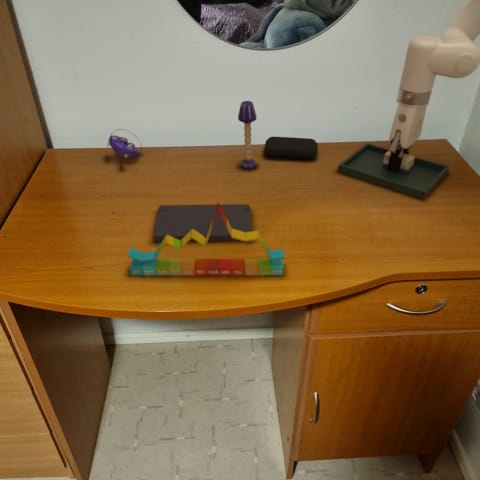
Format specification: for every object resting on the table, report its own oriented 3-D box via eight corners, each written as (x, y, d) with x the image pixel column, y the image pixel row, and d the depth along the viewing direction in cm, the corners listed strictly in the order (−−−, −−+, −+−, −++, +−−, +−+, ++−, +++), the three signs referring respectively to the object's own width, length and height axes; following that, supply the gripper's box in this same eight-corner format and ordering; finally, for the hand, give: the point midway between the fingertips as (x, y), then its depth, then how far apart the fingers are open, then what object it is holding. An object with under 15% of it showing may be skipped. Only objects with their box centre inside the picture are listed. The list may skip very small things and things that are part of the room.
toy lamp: (243, 171, 128) (243, 107, 116) (235, 164, 130) (234, 101, 119) (259, 167, 129) (261, 103, 118) (250, 160, 132) (251, 97, 120)
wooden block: (412, 168, 127) (415, 156, 125) (406, 174, 125) (410, 161, 123) (387, 161, 130) (390, 149, 128) (381, 166, 128) (384, 154, 126)
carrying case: (317, 145, 139) (266, 142, 140) (318, 135, 137) (266, 132, 138) (316, 162, 131) (262, 159, 133) (317, 152, 129) (263, 148, 130)
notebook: (154, 242, 105) (251, 240, 105) (153, 236, 104) (251, 234, 104) (159, 210, 114) (249, 209, 114) (158, 205, 113) (249, 203, 113)
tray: (447, 173, 127) (449, 166, 125) (423, 200, 117) (425, 192, 116) (365, 149, 137) (367, 142, 136) (337, 172, 127) (338, 164, 126)
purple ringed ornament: (152, 143, 131) (126, 149, 124) (145, 169, 136) (120, 176, 129) (125, 124, 133) (99, 129, 126) (119, 150, 138) (93, 156, 131)
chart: (131, 276, 96) (118, 210, 86) (133, 266, 99) (121, 201, 88) (282, 276, 96) (288, 210, 86) (281, 266, 99) (287, 201, 88)
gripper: (415, 110, 109) (396, 184, 122) (441, 89, 118) (421, 159, 131) (384, 102, 112) (369, 175, 125) (412, 82, 121) (395, 152, 134)
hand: (396, 166), depth 128 cm, fingers closed on wooden block, 3 cm apart
